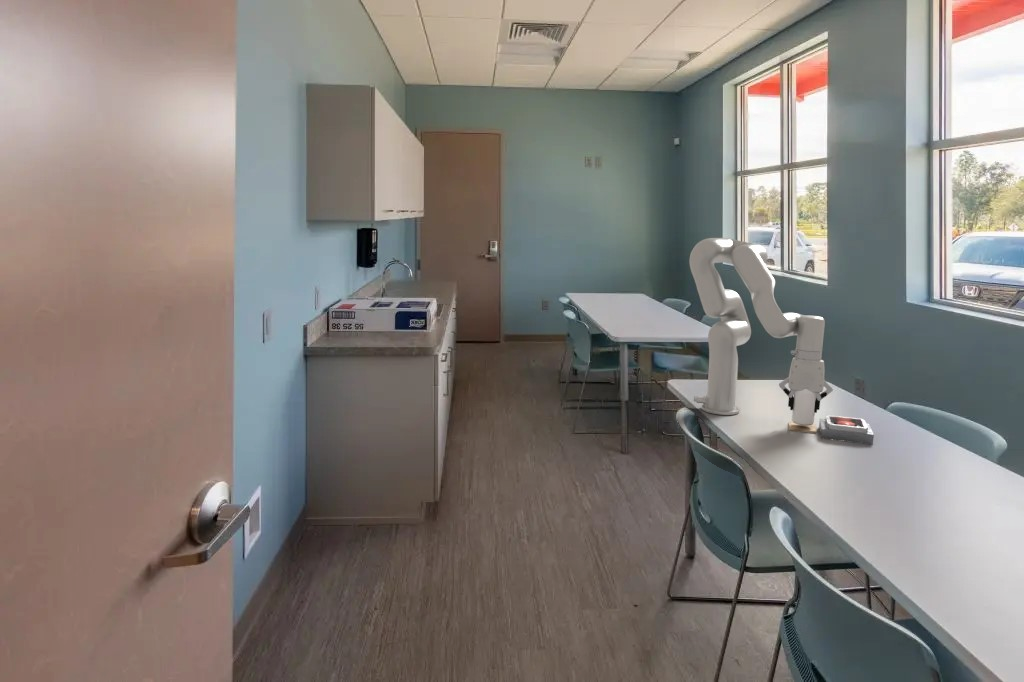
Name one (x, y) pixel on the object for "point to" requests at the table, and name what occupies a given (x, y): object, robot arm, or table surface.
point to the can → (804, 407)
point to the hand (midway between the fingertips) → (803, 409)
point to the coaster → (802, 427)
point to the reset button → (845, 423)
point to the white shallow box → (846, 429)
